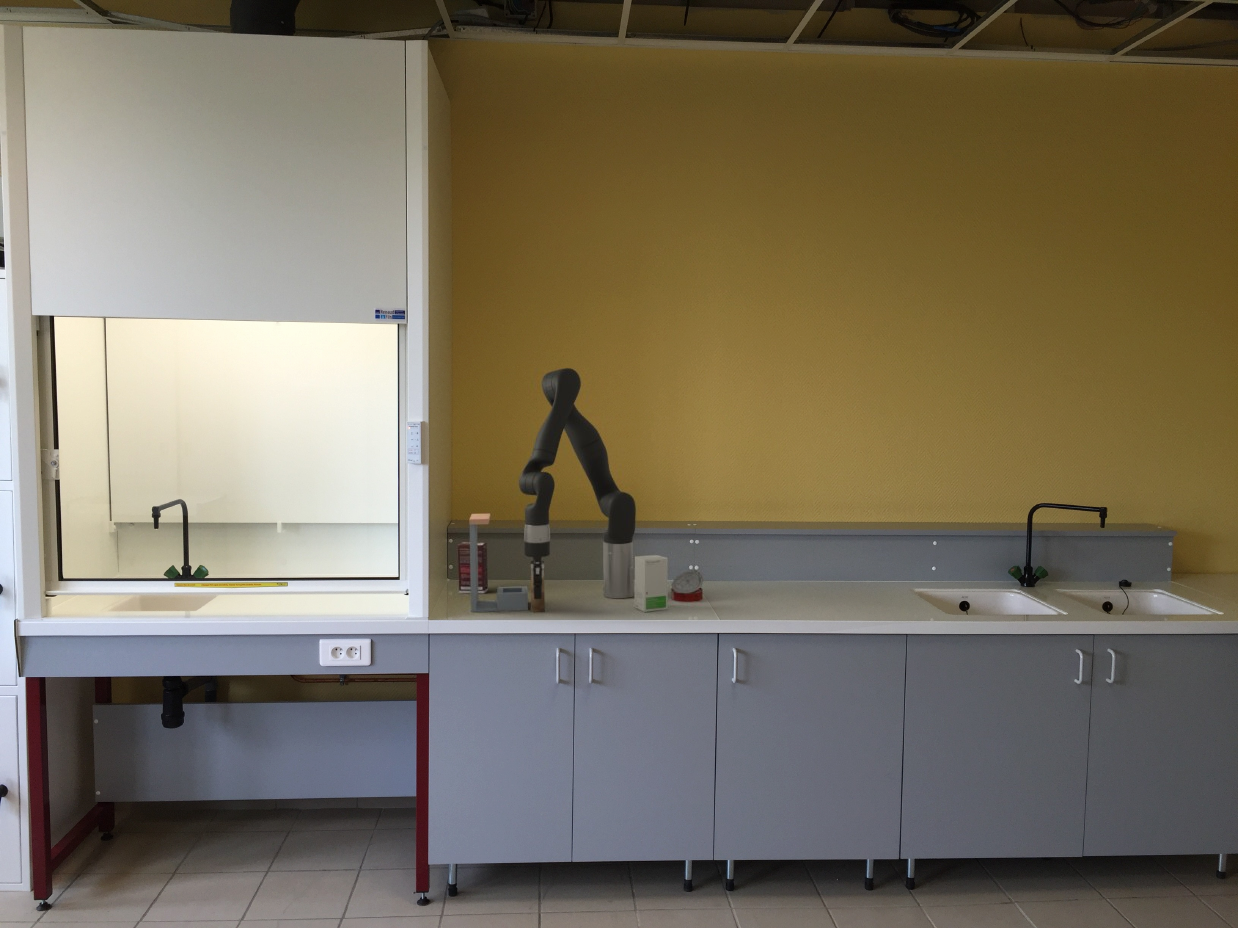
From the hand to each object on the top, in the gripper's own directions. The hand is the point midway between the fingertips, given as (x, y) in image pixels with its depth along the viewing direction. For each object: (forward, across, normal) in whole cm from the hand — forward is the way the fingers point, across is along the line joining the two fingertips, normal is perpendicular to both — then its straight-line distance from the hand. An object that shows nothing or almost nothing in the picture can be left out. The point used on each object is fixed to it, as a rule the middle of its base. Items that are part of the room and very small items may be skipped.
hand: (537, 596), depth 242 cm
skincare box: (+4, -1, -34) cm, 34 cm away
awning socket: (+4, +6, +11) cm, 13 cm away
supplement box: (+5, +26, +20) cm, 33 cm away
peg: (+4, 0, 0) cm, 4 cm away
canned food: (+5, +10, -46) cm, 48 cm away
